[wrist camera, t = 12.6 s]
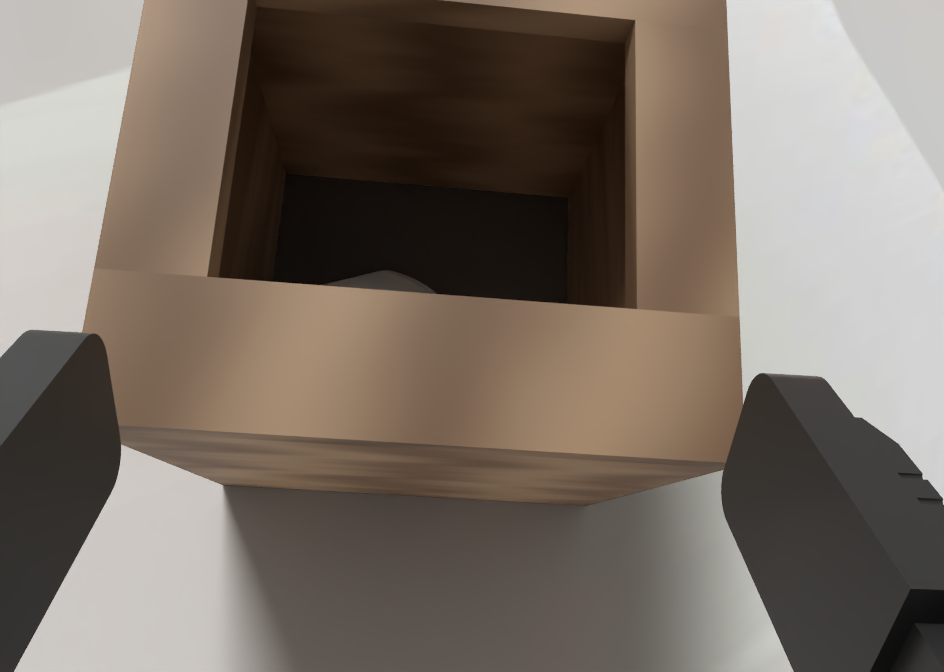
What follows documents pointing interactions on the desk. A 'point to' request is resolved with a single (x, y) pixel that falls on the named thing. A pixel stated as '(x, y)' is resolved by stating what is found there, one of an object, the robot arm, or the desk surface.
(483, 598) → the desk surface
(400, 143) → the box
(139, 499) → the desk surface
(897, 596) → the robot arm
